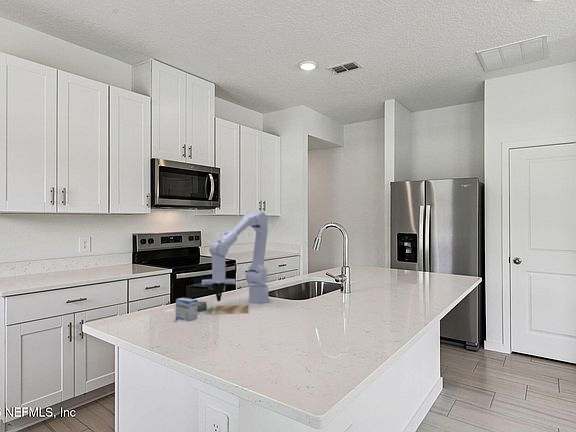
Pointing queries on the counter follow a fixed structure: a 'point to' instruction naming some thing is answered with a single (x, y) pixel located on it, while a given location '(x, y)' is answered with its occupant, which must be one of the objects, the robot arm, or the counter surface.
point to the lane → (225, 310)
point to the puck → (202, 306)
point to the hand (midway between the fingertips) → (218, 300)
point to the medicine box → (186, 309)
